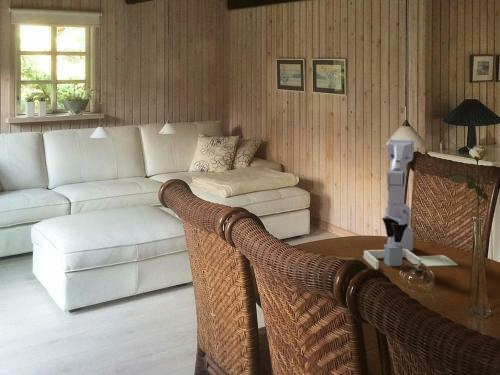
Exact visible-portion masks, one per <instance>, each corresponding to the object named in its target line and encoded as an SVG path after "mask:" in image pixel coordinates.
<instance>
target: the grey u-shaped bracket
mask: <svg viewBox="0 0 500 375" xmlns="http://www.w3.org/2000/svg"><path fill="white" fill-rule="evenodd" d="M384 253H385V249H369V250H363V259H364V260H365V261H366V262H367V263H368V264H369V265H370V266H371V267H373V269H375V270H379V269H380V268H379V266H380V265H379V262H380V261H379V260H378V259H384ZM417 256H418V255H416V254H415V253H413V252H411V250H407V249H403V254H402V258H405V259H407V260H408V261H409V262H410V263H411V264H413V265H414V264H418V265H421V266H422V263H421V259H420V258H419V257H417Z"/></svg>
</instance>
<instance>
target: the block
mask: <svg viewBox="0 0 500 375" xmlns="http://www.w3.org/2000/svg"><path fill="white" fill-rule="evenodd" d="M384 245H385V246H384V250H385V253H384V258H383V262H384V264H385V265H387V266H388V267H401V266H403V257H402V254H403V247H402V246H400V245H399V244H388V243H385V244H384Z"/></svg>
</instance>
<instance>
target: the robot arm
mask: <svg viewBox="0 0 500 375" xmlns="http://www.w3.org/2000/svg"><path fill="white" fill-rule="evenodd" d="M387 142H388V143H387V156H388V158H389V161H391V162H390V164H389V170H388V171H387V174H386V184H387V189H386V190H387V201H386V203H387V206H386V208H385V211H384V212H385V213H384V215H383V217H382V219H381V220H382V221H383V224H384V227H385V230H386V237H387V244H399V245H400V246H402V247H403V249H407V250H409V251H414V248H413V242H414V241H413V240H414V232H413V229H412V227H411V207H410V206H408V205H407V204H406V203H405V191H406V190H405V188H406V184H407V183H406V181H407V170H406V168H407V165H408V164H409V162H412V161H413V159H414V148H415V141H414V140H413V139H391V138H390V139H389V140H388V141H387ZM383 246H384V247H385V244H384V245H383Z"/></svg>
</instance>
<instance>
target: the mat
mask: <svg viewBox="0 0 500 375" xmlns="http://www.w3.org/2000/svg"><path fill="white" fill-rule="evenodd" d="M416 256H417V257H419V258H420V259H421V264H423V265H424V266H426V268H427V267H429V268H430V267H447V266H448V267H449V266H459V263H456V262H455V261H453V260H452V259H451V258H449V257H447V256H446V255H444V254H443V255H442V254H441V255H439V254H438V255H436V254H435V255H416Z"/></svg>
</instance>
